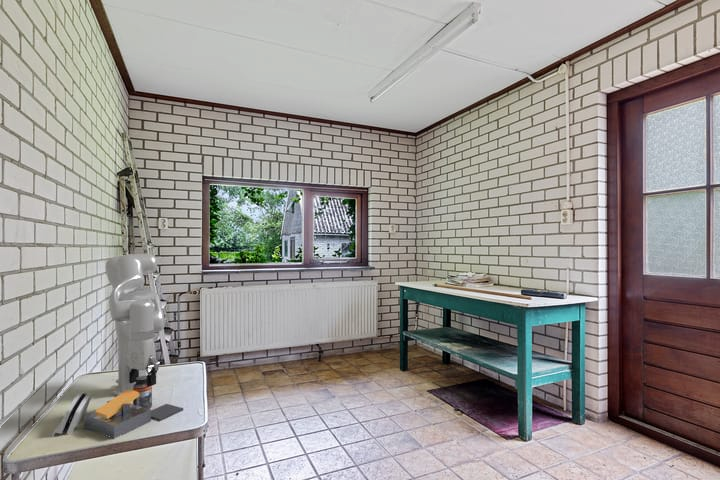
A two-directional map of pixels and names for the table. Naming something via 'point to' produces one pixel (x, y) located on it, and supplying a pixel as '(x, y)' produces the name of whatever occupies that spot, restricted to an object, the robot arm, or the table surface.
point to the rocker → (117, 403)
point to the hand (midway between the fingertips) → (142, 383)
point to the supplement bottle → (143, 392)
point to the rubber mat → (164, 411)
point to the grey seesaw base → (118, 420)
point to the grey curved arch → (74, 414)
